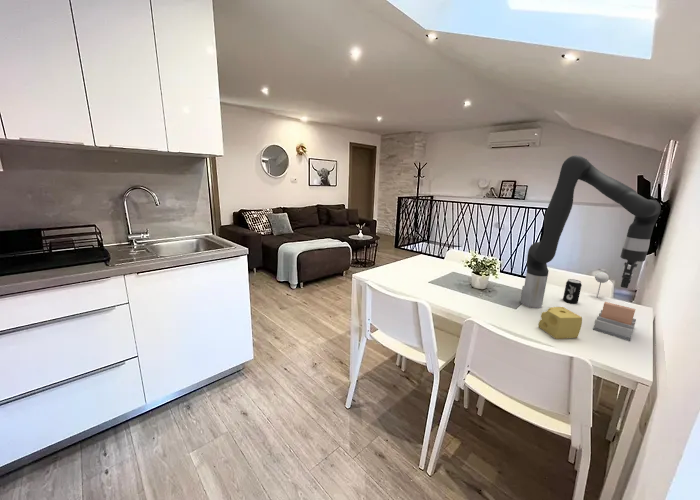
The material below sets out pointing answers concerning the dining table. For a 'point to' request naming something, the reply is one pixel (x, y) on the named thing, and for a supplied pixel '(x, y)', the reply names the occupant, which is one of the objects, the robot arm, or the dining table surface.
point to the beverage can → (572, 291)
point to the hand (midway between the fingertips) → (625, 285)
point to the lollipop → (601, 279)
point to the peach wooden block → (618, 313)
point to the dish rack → (614, 327)
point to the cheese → (560, 323)
